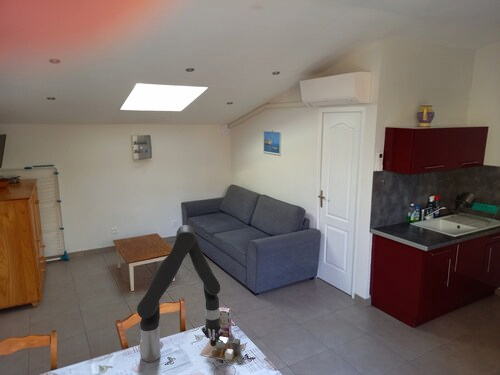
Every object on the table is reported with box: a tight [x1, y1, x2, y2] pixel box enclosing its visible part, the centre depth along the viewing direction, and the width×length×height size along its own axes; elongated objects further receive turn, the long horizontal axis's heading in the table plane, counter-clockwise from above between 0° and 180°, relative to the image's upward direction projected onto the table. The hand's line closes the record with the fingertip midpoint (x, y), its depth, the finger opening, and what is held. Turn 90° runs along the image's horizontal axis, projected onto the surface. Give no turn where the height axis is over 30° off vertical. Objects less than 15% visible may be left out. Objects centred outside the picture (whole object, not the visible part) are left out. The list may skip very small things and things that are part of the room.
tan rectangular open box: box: [199, 338, 245, 363], centre depth 185 cm, size 20×14×8 cm
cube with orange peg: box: [216, 337, 230, 356], centre depth 183 cm, size 5×8×6 cm, turn 163°
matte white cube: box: [225, 349, 234, 360], centre depth 179 cm, size 4×4×4 cm
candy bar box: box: [217, 306, 232, 338], centre depth 199 cm, size 11×5×16 cm, turn 76°
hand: (213, 345), depth 187 cm, fingers closed
